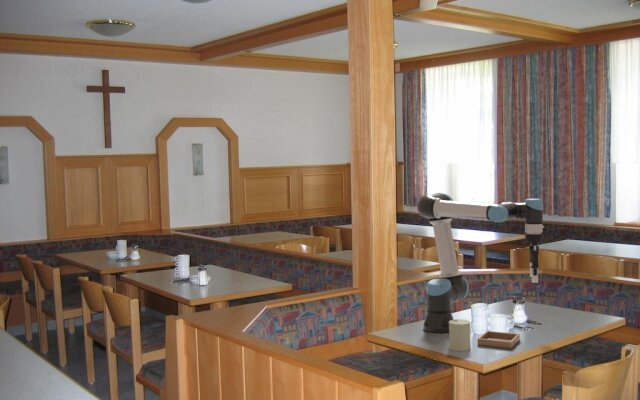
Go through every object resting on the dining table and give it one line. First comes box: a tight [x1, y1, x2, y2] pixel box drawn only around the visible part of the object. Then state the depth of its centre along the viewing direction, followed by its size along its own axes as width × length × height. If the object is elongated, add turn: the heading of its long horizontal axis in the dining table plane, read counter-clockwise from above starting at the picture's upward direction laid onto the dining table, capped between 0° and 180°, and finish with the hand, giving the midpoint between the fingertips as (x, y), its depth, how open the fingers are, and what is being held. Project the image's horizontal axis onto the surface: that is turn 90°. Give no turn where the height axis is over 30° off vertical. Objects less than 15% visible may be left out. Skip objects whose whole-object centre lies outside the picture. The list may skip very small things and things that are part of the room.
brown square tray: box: [476, 330, 521, 350], centre depth 306 cm, size 15×15×3 cm
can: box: [448, 318, 472, 352], centre depth 300 cm, size 9×9×12 cm
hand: (533, 279), depth 316 cm, fingers open, 13 cm apart
